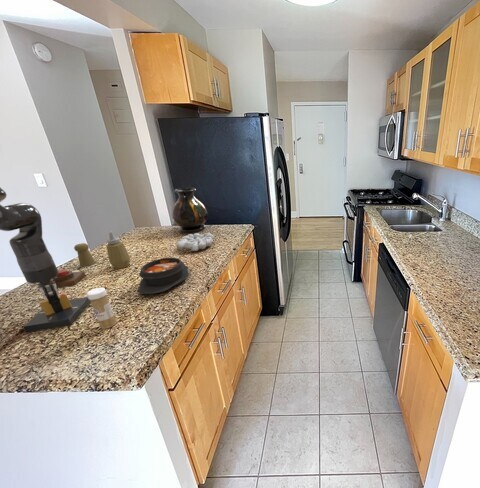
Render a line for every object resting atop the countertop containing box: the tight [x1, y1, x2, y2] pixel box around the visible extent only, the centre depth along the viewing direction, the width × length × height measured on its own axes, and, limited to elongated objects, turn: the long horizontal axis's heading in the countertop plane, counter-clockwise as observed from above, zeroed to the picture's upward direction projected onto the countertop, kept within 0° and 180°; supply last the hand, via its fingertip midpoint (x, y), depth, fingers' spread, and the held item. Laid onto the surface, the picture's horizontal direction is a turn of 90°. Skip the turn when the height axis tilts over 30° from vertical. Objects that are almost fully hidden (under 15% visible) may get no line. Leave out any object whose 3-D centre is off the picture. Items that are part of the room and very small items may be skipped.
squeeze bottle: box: [106, 231, 131, 270], centre depth 124 cm, size 8×8×18 cm
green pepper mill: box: [73, 242, 97, 268], centre depth 128 cm, size 6×6×11 cm
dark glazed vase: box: [171, 187, 209, 234], centre depth 175 cm, size 22×22×28 cm
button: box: [57, 269, 68, 277], centre depth 112 cm, size 4×4×2 cm
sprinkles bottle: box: [86, 287, 118, 330], centre depth 85 cm, size 5×5×13 cm
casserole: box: [137, 257, 190, 295], centre depth 112 cm, size 25×19×8 cm
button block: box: [51, 270, 86, 289], centre depth 113 cm, size 11×9×4 cm
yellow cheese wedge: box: [39, 292, 71, 316], centre depth 90 cm, size 6×2×5 cm, turn 141°
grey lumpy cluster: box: [175, 232, 215, 252], centre depth 151 cm, size 22×21×6 cm
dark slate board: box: [22, 296, 91, 334], centre depth 91 cm, size 12×14×3 cm
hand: (58, 309), depth 91 cm, fingers closed on yellow cheese wedge, 2 cm apart
